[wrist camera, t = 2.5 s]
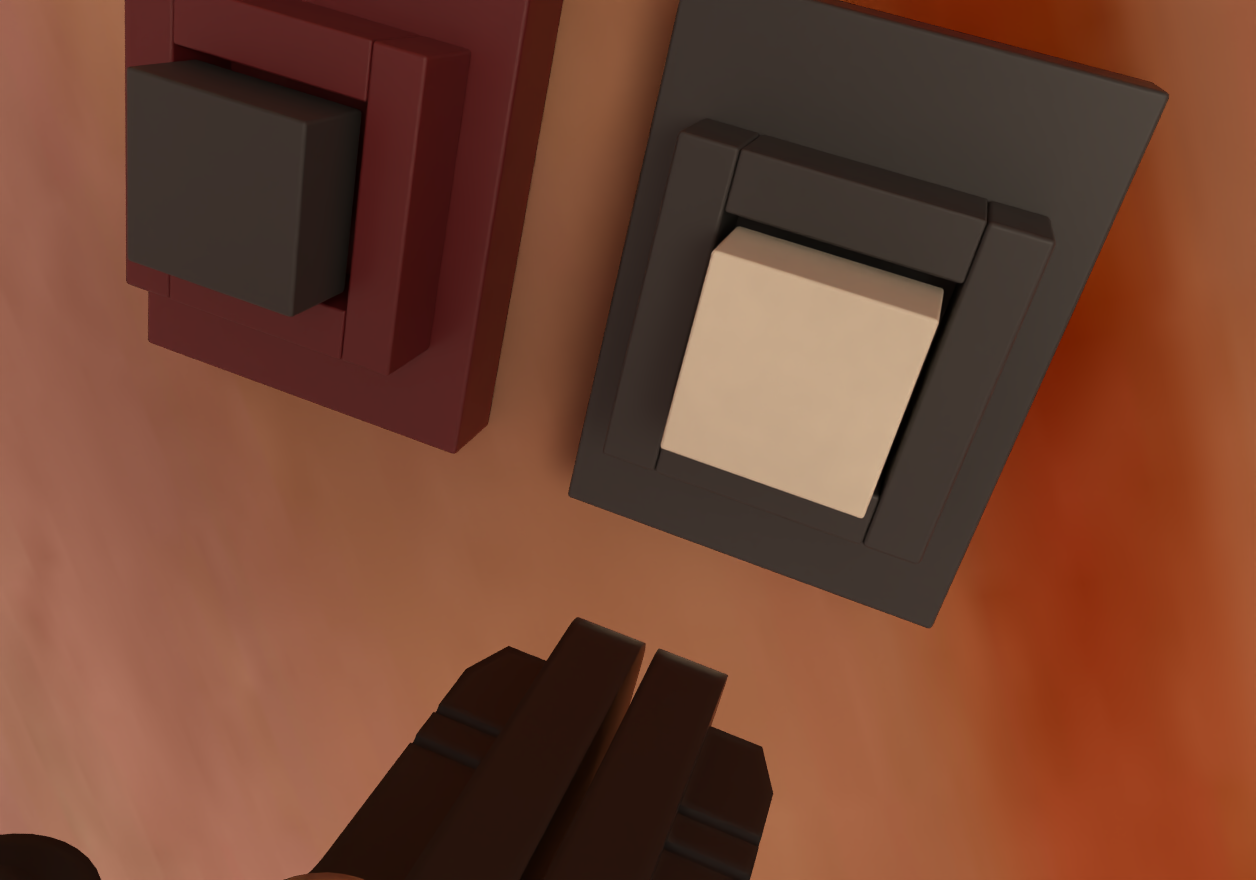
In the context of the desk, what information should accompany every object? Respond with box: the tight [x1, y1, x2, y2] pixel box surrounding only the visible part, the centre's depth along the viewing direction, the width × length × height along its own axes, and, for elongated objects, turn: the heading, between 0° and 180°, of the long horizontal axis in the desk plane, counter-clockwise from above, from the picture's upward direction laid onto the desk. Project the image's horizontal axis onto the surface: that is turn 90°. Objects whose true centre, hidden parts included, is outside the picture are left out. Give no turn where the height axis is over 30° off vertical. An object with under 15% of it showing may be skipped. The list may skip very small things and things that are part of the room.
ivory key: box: [661, 226, 944, 518], centre depth 19 cm, size 4×4×2 cm
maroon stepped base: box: [125, 0, 563, 453], centre depth 24 cm, size 12×9×4 cm
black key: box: [127, 60, 362, 317], centre depth 22 cm, size 4×4×2 cm
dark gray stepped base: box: [568, 0, 1169, 628], centre depth 22 cm, size 12×9×4 cm
